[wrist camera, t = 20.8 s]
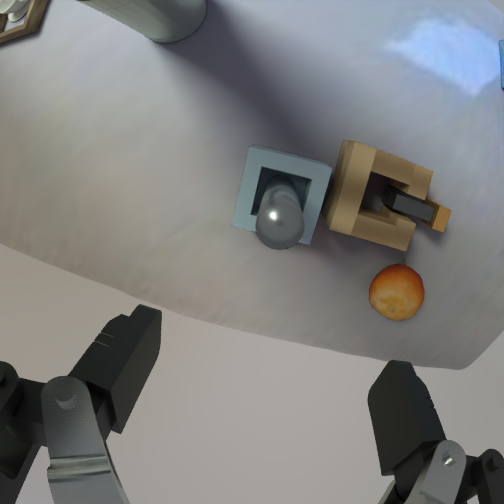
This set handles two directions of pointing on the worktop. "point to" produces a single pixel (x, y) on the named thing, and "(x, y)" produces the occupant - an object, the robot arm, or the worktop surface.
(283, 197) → the peg
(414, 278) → the fruit
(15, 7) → the teacup
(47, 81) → the worktop surface
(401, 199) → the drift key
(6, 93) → the worktop surface
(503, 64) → the blue retail carton
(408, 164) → the socket block
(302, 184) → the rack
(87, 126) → the worktop surface
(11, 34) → the cup corral
